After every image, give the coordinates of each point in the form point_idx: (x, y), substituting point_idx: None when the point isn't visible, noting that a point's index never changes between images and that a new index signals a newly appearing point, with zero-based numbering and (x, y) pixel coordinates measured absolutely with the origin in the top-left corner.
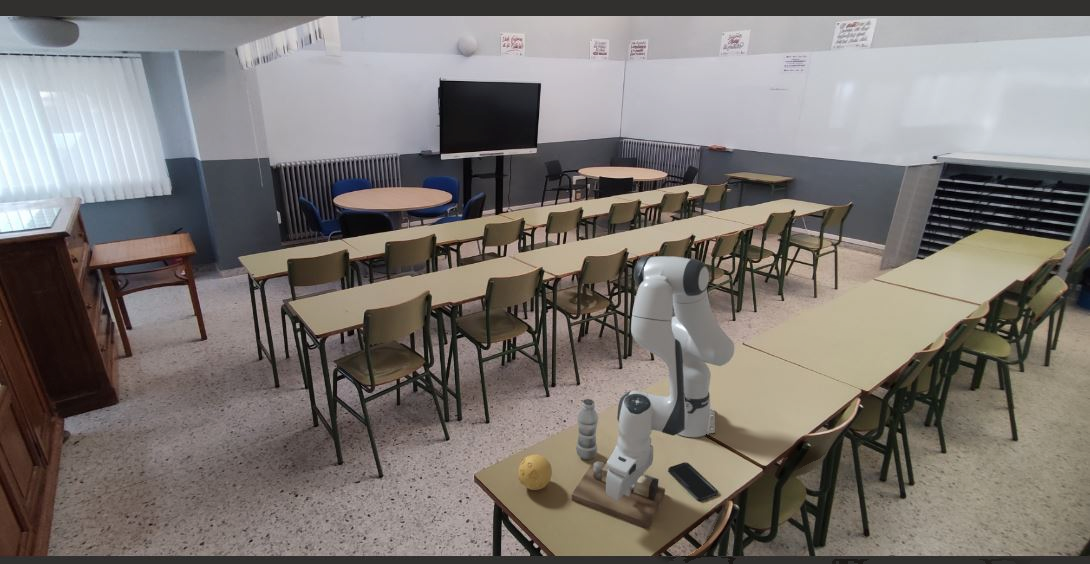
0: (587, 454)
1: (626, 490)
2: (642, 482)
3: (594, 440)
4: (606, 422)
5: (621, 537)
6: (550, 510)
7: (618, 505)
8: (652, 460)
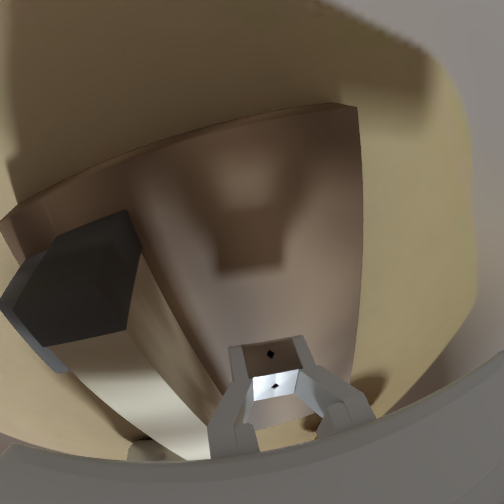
0: (175, 460)
1: (462, 397)
2: (144, 374)
3: None
4: (41, 444)
5: (427, 193)
6: (390, 375)
7: (320, 312)
8: (2, 478)
